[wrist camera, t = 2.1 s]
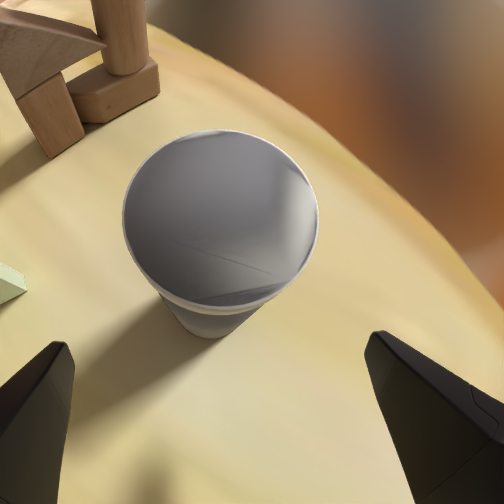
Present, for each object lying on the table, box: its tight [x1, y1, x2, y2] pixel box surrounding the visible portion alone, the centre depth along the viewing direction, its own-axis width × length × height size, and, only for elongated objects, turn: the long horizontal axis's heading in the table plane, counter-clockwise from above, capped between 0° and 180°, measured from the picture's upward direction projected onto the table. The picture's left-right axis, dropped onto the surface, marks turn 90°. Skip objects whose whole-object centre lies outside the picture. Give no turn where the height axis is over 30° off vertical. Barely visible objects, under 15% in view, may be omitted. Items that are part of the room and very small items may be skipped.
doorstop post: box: [122, 129, 319, 339], centre depth 13 cm, size 4×4×13 cm
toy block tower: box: [0, 0, 160, 158], centre depth 14 cm, size 4×11×18 cm, turn 130°
